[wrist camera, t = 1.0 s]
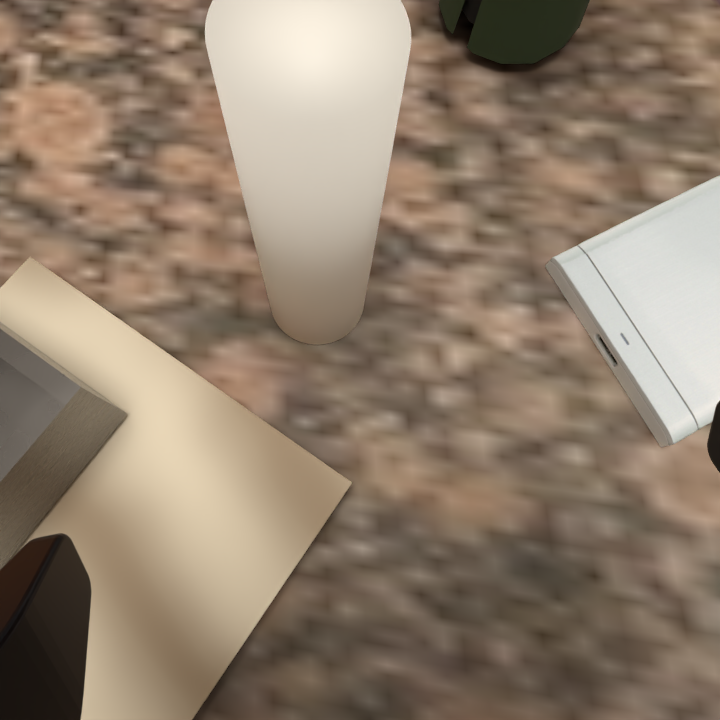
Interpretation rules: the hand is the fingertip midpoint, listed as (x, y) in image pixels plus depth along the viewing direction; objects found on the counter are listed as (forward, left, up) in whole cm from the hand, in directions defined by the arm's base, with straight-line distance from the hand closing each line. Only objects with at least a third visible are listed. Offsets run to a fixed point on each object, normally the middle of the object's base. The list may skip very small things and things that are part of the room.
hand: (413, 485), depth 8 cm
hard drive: (+16, -7, -14) cm, 22 cm away
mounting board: (-6, +8, -13) cm, 17 cm away
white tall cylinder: (+6, +6, -13) cm, 16 cm away
